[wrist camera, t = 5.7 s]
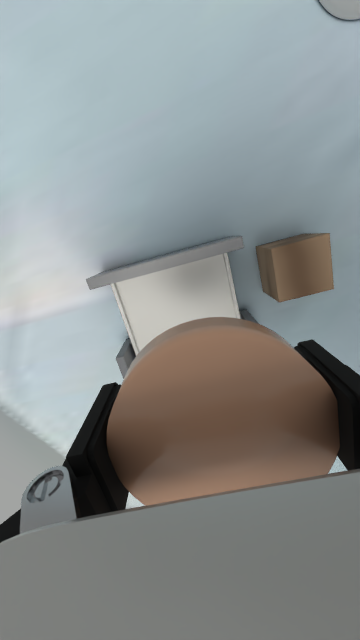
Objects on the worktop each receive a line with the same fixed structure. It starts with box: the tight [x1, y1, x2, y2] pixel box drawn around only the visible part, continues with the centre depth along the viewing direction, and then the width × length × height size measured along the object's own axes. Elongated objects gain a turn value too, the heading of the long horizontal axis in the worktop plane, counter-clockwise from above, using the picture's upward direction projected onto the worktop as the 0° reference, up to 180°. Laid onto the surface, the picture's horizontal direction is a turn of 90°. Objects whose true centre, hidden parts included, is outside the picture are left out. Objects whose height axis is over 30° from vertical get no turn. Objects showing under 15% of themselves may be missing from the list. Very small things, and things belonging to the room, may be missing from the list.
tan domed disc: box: [107, 317, 340, 506], centre depth 9 cm, size 8×8×2 cm
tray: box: [86, 236, 244, 356], centre depth 26 cm, size 13×14×5 cm
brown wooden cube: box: [256, 233, 334, 302], centre depth 25 cm, size 5×5×5 cm
